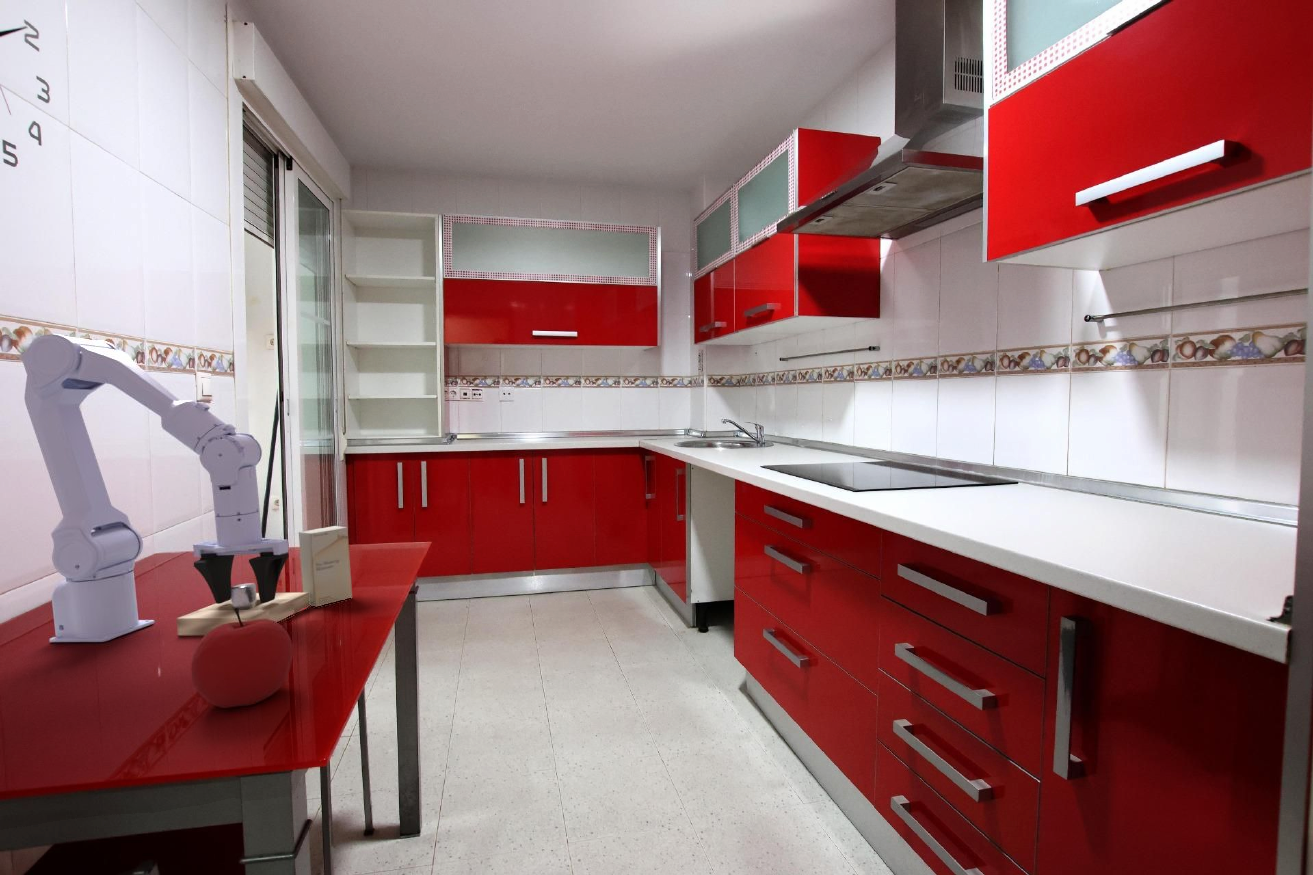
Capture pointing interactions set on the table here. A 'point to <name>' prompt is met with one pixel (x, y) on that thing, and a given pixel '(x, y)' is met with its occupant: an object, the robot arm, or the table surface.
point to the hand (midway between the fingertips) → (245, 601)
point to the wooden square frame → (241, 613)
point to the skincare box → (325, 564)
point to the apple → (241, 662)
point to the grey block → (244, 596)
